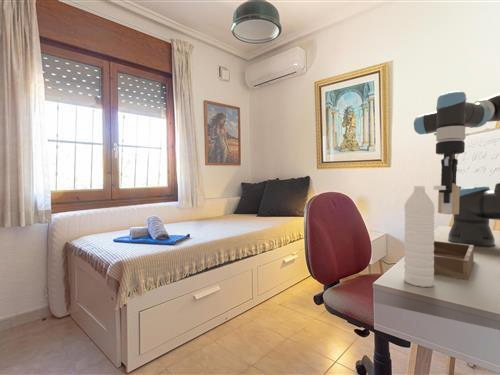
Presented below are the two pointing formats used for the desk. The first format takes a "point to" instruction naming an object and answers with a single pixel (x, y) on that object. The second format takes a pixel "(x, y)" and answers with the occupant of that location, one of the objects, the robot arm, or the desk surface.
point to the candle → (454, 202)
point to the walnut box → (453, 259)
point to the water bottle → (419, 238)
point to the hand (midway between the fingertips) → (448, 212)
